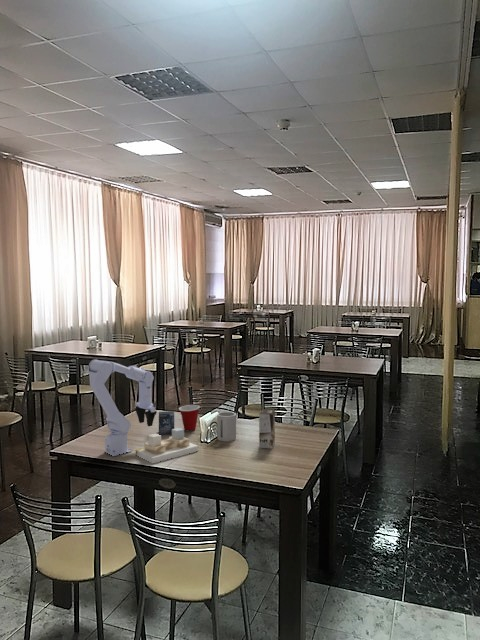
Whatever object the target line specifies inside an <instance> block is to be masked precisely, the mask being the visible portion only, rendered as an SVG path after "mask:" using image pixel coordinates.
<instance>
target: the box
mask: <svg viewBox="0 0 480 640" xmlns="http://www.w3.org/2000/svg"><path fill="white" fill-rule="evenodd" d="M172 429H175V411H174V410H173V411H172V410H169V411H159V412H158V434H161V435H172Z"/></svg>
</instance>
